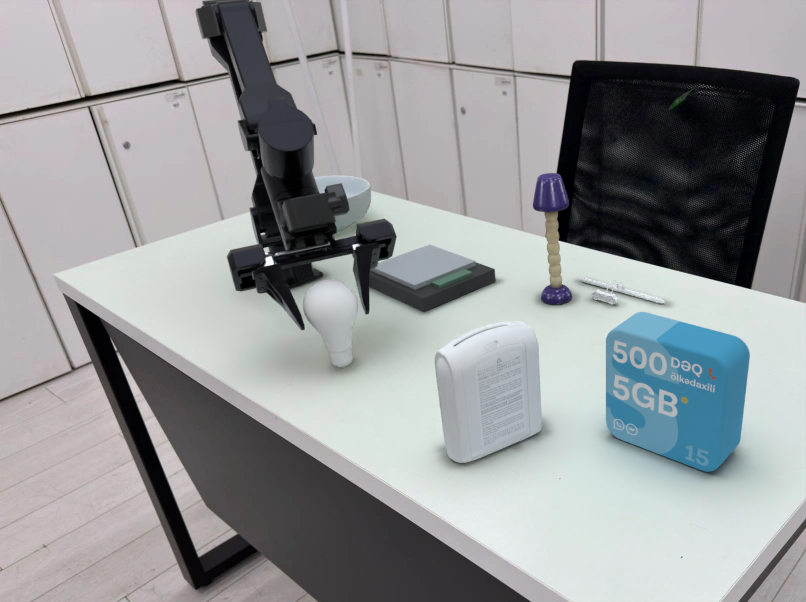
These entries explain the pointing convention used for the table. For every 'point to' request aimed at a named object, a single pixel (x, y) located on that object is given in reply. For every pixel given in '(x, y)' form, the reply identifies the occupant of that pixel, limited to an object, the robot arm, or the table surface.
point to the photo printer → (489, 389)
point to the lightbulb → (333, 317)
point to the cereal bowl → (349, 197)
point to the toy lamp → (552, 233)
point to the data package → (676, 389)
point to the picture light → (612, 297)
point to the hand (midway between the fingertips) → (335, 320)
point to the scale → (429, 277)
